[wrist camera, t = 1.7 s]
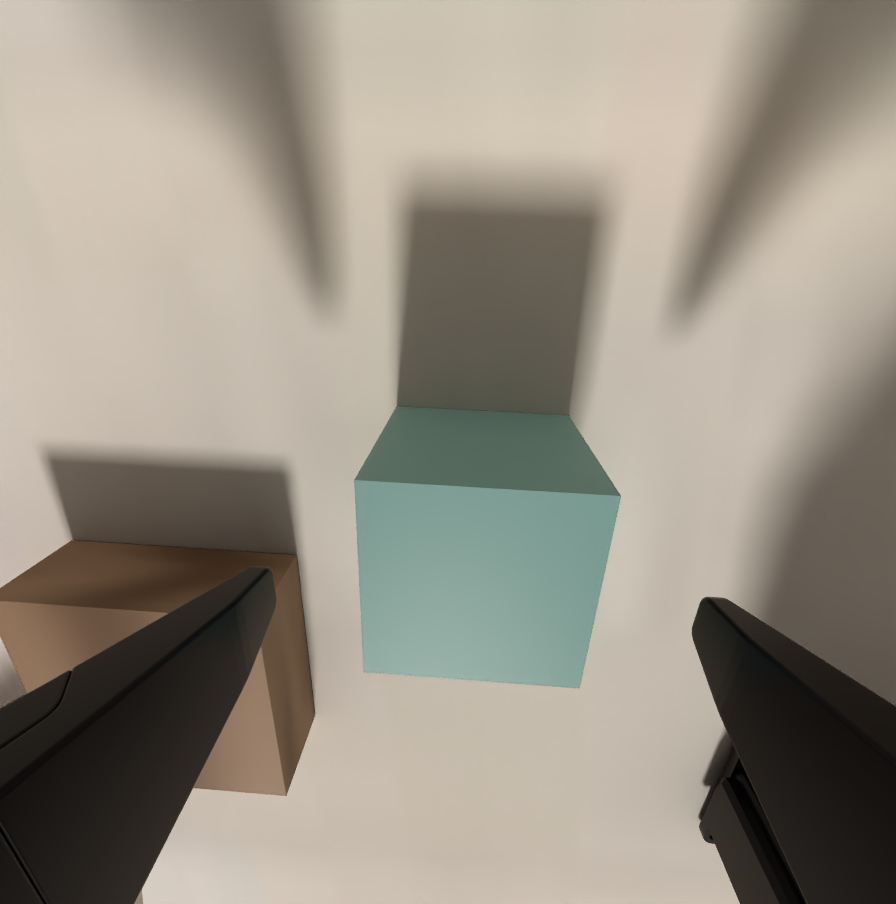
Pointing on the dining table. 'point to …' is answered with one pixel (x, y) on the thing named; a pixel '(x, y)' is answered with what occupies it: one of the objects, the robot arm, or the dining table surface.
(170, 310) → the dining table surface
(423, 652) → the teal cube
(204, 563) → the walnut base
